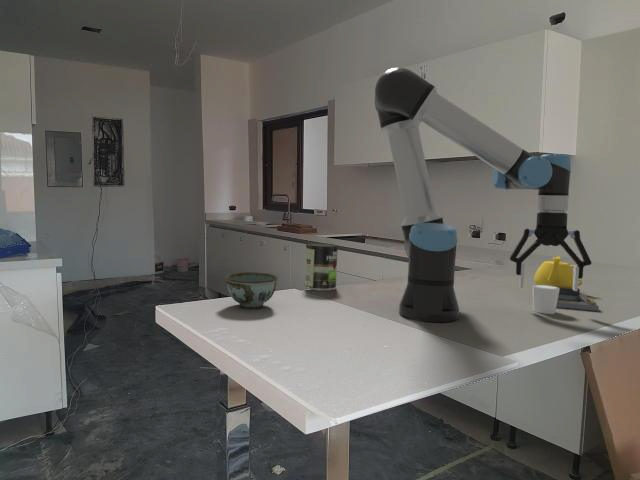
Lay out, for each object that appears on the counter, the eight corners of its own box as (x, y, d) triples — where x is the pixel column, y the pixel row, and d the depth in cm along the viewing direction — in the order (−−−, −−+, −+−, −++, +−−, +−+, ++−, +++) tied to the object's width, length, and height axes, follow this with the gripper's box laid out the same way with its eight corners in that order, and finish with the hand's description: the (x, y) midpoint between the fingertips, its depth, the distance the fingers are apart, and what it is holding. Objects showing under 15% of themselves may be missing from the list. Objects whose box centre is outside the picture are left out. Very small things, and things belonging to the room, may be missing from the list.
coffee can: (342, 287, 158) (343, 244, 157) (325, 292, 149) (327, 247, 148) (315, 283, 163) (317, 242, 162) (298, 288, 155) (299, 244, 153)
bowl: (256, 298, 137) (257, 270, 136) (287, 307, 127) (288, 277, 127) (214, 304, 127) (215, 274, 127) (245, 315, 118) (245, 282, 117)
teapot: (581, 299, 154) (584, 263, 153) (531, 293, 161) (533, 259, 160) (581, 289, 171) (584, 257, 170) (535, 284, 178) (538, 253, 177)
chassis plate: (598, 311, 137) (599, 299, 136) (544, 306, 141) (545, 294, 140) (583, 299, 154) (584, 288, 153) (535, 294, 158) (536, 284, 158)
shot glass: (561, 311, 135) (563, 287, 134) (552, 315, 129) (555, 290, 129) (535, 307, 139) (537, 283, 138) (526, 310, 134) (528, 286, 133)
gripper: (600, 212, 132) (594, 289, 134) (502, 210, 139) (498, 283, 141) (607, 213, 125) (602, 294, 126) (504, 210, 132) (500, 287, 134)
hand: (547, 288), depth 134 cm, fingers open, 13 cm apart
